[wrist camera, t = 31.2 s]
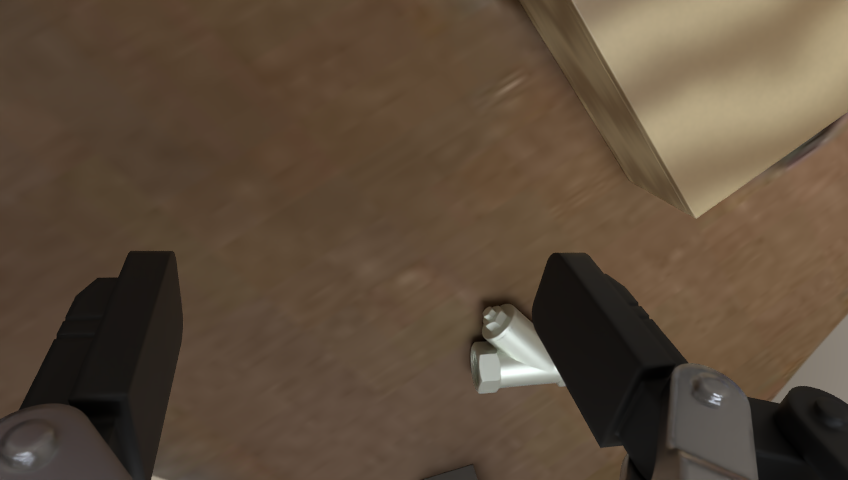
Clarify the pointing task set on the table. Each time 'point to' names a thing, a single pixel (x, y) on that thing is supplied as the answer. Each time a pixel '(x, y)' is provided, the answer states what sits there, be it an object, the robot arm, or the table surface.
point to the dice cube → (457, 474)
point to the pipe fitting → (510, 353)
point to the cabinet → (700, 84)
